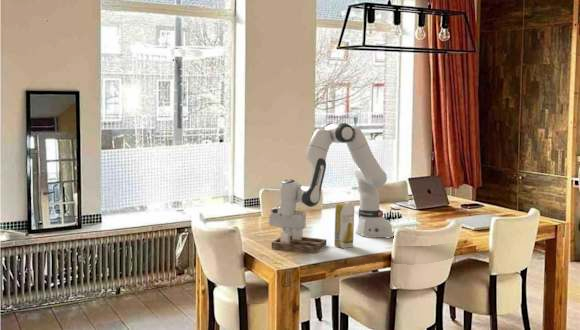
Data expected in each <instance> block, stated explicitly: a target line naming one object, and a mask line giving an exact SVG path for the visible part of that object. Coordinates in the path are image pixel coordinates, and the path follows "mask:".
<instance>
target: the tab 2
mask: <svg viewBox="0 0 580 330" xmlns="http://www.w3.org/2000/svg"><path fill="white" fill-rule="evenodd" d="M302 237H303V236H302V229H294V230H293V232H292V239H295V240H302Z"/></svg>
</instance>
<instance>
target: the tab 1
mask: <svg viewBox="0 0 580 330" xmlns="http://www.w3.org/2000/svg"><path fill="white" fill-rule="evenodd" d="M279 238H280V242H282V243H288V244H290V233H289V232H287V231H285V232H284V231H282V232H280V237H279Z"/></svg>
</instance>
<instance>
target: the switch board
mask: <svg viewBox="0 0 580 330" xmlns="http://www.w3.org/2000/svg"><path fill="white" fill-rule="evenodd" d="M326 246H327V239H326V238H325V239H324V238H320V237H319V238H317V237H305V236H302V240H295V239H292V235H290V244H288V243H282V242H280V237H278V238H277V239H275V240H273V241H271V249H275V250H284V251H293V252H300V253H306V254H307V253H308V254H317V253H318V252H319V251H321V250H322V249H323V248H324V247H326Z"/></svg>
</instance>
